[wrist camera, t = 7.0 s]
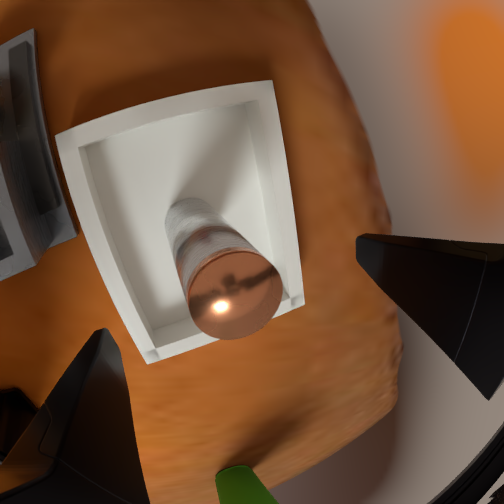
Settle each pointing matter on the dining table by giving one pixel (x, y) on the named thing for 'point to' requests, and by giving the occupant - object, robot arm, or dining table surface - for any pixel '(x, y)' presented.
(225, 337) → the pin
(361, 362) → the dining table surface
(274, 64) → the dining table surface
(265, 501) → the cup
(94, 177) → the tray
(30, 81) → the plate
